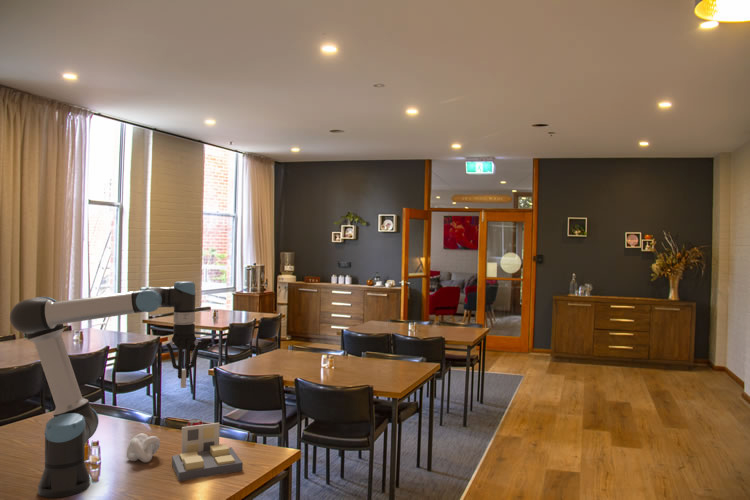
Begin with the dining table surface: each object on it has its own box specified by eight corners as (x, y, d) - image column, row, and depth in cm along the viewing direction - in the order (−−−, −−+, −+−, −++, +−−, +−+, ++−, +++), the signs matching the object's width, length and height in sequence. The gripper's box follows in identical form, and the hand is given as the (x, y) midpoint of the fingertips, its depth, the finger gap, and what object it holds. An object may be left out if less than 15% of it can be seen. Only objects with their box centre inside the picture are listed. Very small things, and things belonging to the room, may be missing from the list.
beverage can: (197, 454, 222) (198, 423, 222) (183, 452, 223) (183, 422, 223) (205, 448, 228) (206, 418, 228) (191, 447, 229) (191, 417, 229)
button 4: (217, 471, 203) (217, 462, 203) (214, 465, 208) (214, 457, 208) (234, 468, 205) (234, 460, 205) (230, 462, 211) (231, 454, 211)
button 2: (185, 472, 198) (186, 463, 198) (183, 466, 203) (183, 458, 203) (203, 469, 200) (203, 460, 200) (200, 463, 206) (200, 455, 206)
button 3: (212, 458, 211) (213, 450, 211) (209, 453, 216) (209, 445, 216) (229, 456, 213) (229, 448, 213) (225, 451, 219) (225, 443, 219)
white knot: (117, 462, 212) (117, 438, 212) (140, 452, 223) (140, 429, 223) (141, 467, 208) (141, 442, 208) (163, 456, 219) (164, 433, 219)
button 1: (182, 467, 206) (182, 459, 206) (179, 462, 211) (179, 453, 211) (199, 464, 208) (199, 456, 208) (196, 459, 214) (196, 451, 214)
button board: (179, 481, 195) (179, 446, 195) (170, 460, 215) (170, 428, 215) (242, 470, 205) (242, 437, 205) (228, 451, 225) (229, 421, 225)
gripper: (166, 325, 203) (165, 391, 203) (204, 323, 209) (203, 387, 209) (164, 322, 210) (163, 386, 209) (200, 321, 216) (199, 383, 215)
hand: (183, 387), depth 209 cm, fingers closed
